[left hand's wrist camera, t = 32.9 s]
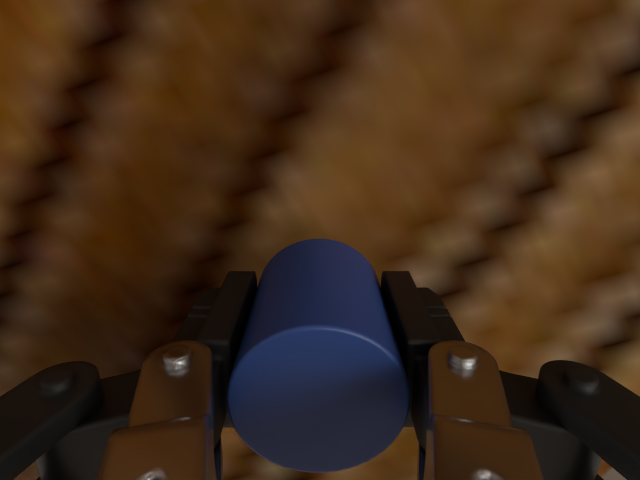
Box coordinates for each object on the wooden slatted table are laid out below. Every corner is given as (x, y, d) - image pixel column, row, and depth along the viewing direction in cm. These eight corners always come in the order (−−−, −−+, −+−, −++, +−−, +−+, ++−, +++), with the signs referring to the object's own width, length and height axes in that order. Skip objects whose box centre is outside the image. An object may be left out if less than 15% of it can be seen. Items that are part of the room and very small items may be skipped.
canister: (398, 317, 13) (439, 437, 8) (294, 362, 13) (282, 495, 9) (347, 216, 12) (363, 295, 7) (235, 270, 12) (188, 373, 8)
